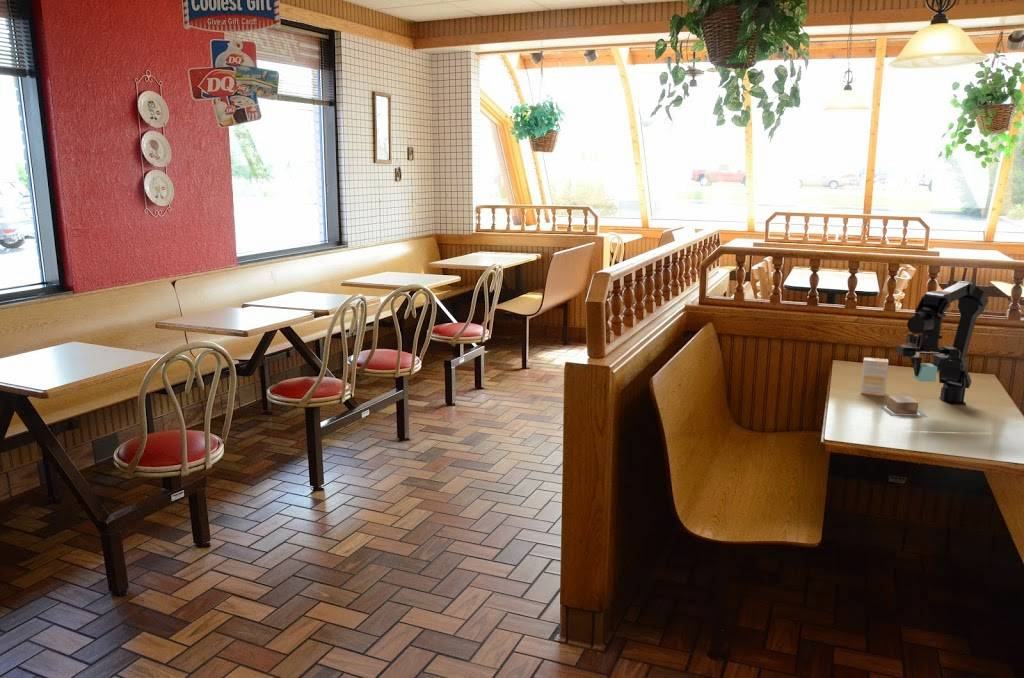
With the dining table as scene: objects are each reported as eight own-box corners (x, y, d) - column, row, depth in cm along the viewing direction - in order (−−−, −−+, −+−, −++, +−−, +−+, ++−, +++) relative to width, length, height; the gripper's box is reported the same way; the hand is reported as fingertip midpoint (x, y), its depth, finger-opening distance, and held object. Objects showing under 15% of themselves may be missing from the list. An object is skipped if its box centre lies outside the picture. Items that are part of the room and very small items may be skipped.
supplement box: (884, 394, 288) (888, 359, 285) (884, 397, 284) (888, 362, 281) (860, 391, 292) (863, 356, 289) (859, 394, 287) (863, 359, 284)
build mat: (911, 406, 274) (911, 405, 274) (927, 417, 262) (928, 416, 262) (876, 405, 274) (876, 404, 274) (890, 417, 263) (891, 415, 263)
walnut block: (907, 407, 271) (909, 396, 271) (916, 414, 265) (918, 402, 264) (886, 407, 272) (888, 395, 271) (895, 413, 265) (897, 402, 264)
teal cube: (928, 377, 268) (930, 363, 267) (935, 381, 263) (937, 367, 262) (913, 377, 268) (915, 362, 267) (920, 381, 263) (922, 366, 262)
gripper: (947, 326, 270) (940, 371, 273) (891, 325, 270) (885, 369, 273) (964, 333, 259) (957, 379, 262) (906, 331, 259) (900, 378, 262)
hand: (924, 376), depth 265 cm, fingers closed on teal cube, 5 cm apart
